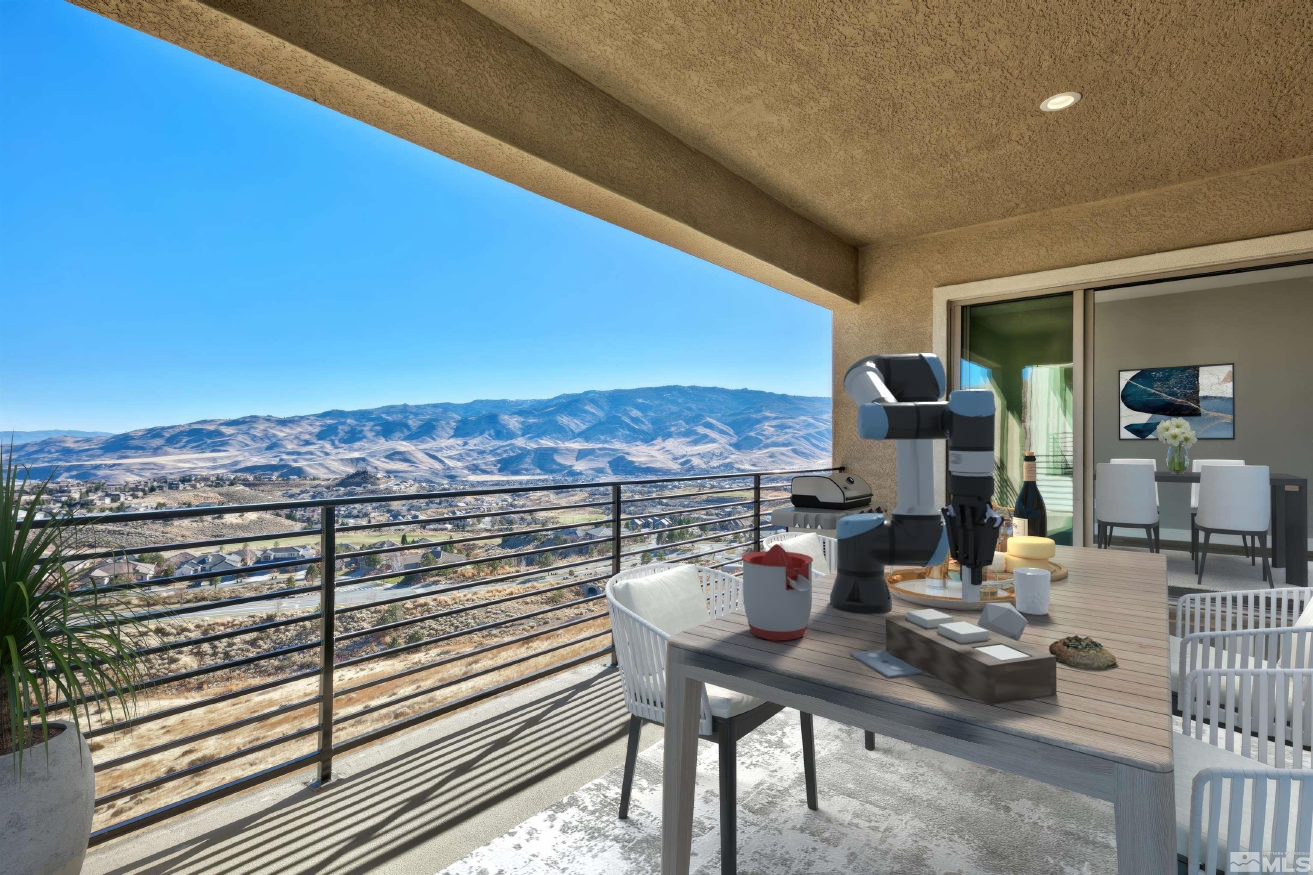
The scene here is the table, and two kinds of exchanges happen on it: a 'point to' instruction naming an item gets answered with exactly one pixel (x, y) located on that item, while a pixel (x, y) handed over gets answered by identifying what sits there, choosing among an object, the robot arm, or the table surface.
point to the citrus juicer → (777, 593)
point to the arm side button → (928, 618)
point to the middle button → (963, 632)
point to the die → (1003, 620)
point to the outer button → (1002, 652)
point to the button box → (974, 662)
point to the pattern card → (885, 663)
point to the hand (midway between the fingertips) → (970, 600)
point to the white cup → (1032, 590)
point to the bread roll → (1082, 652)
